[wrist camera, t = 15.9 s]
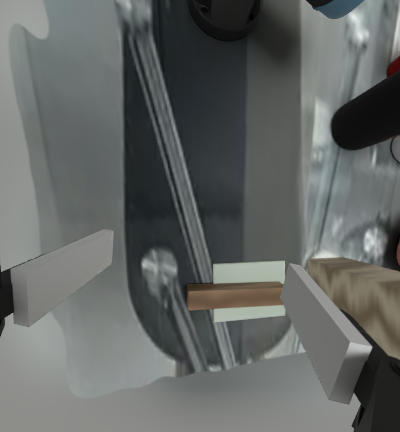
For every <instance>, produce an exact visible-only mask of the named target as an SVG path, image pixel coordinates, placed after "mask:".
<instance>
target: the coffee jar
mask: <svg viewBox="0 0 400 432" xmlns="http://www.w3.org/2000/svg"><path fill="white" fill-rule="evenodd" d="M332 130H333V135H334V137H335V139H336V141H337V142H338V143H339V144H340V145H342V146H343V147H345V148H348V149H353V150H357V149H362V148H365V147H368V146H371V145H374V144H377V143H380V142H383V141H386V140H389V139H391V138H394V137H397V136H400V70H399V71H397V72H396V73H394V74H393V75H391V76H389V77H388V78H386V79H385V80H383V81H381V82H380V83H378V84H377V85H375V86H374V87H372V88H370V89H369V90H367V91H366V92H364V93H362V94H361V95H359V96H358V97H356V98H355V99H353V100H351V101H350V102H348V103H347V104H345V105H343V106H342V107H341V108H340V109H339V110H338V112H337V114H336V116H335V118H334V120H333V125H332Z"/></svg>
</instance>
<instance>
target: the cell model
mask: <svg viewBox="0 0 400 432" xmlns="http://www.w3.org/2000/svg"><path fill="white" fill-rule="evenodd" d="M396 257H397V261H398V263H399V265H400V238H399V243H398V247H397V254H396Z"/></svg>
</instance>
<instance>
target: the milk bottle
mask: <svg viewBox="0 0 400 432" xmlns="http://www.w3.org/2000/svg"><path fill="white" fill-rule="evenodd" d="M392 153H393V156H394V157H395V159H396V160H398V161H399V162H400V136H397V137H395V138H394V140H393V142H392Z"/></svg>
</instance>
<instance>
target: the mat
mask: <svg viewBox="0 0 400 432" xmlns="http://www.w3.org/2000/svg"><path fill="white" fill-rule="evenodd" d="M275 281H279V282H281V283H282V284H284V281H285V261H284V260H278V261H259V262H239V263H220V264H213V284H216V283H245V282H275ZM284 315H285V307H284V305H278V306H259V307H241V308H222V309H213V321H214V322H223V321H233V320H243V319H253V318H263V317H274V316H284Z"/></svg>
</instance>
